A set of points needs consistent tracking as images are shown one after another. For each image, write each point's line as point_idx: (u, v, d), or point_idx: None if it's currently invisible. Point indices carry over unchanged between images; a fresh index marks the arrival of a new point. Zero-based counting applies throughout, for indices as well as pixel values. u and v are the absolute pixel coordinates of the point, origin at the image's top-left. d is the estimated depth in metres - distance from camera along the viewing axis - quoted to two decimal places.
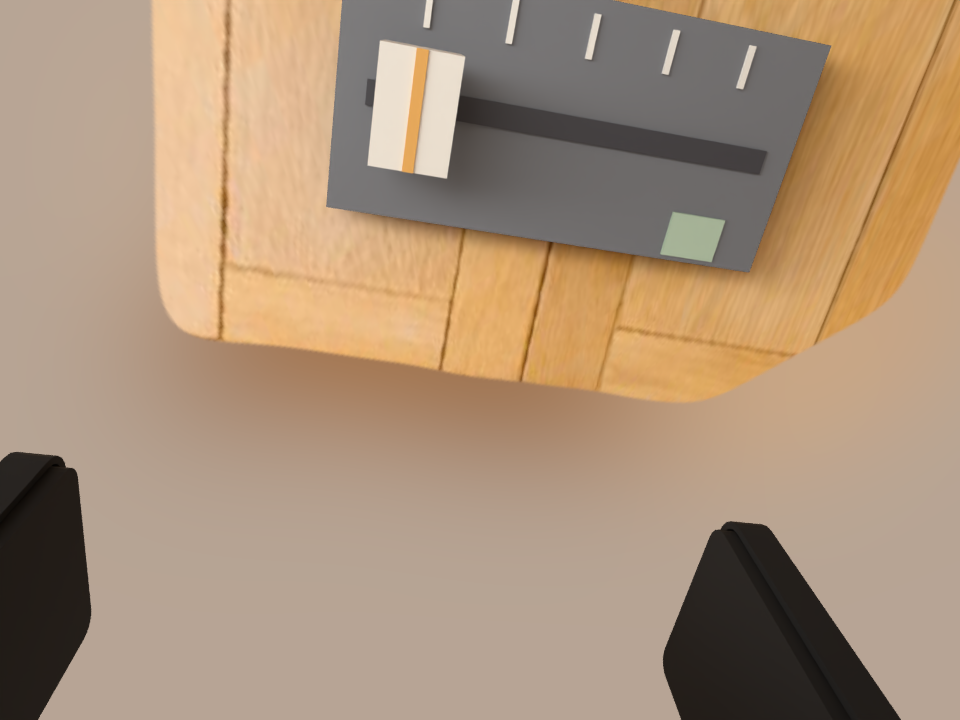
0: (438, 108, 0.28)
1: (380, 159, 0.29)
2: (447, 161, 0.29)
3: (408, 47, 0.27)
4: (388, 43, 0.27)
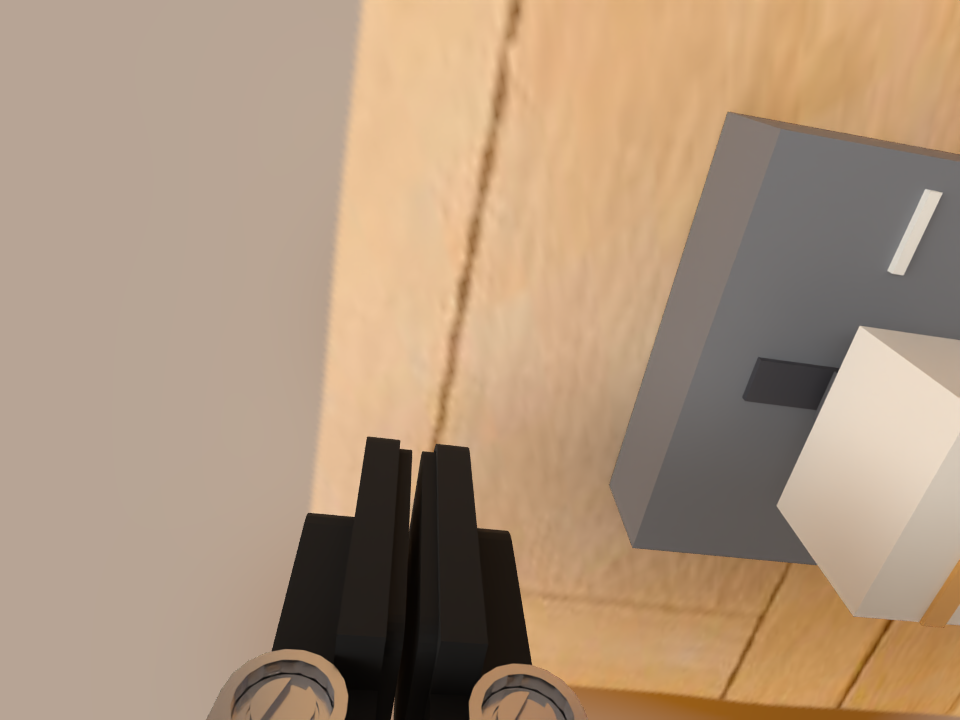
0: None
1: (884, 606, 0.14)
2: None
3: None
4: None
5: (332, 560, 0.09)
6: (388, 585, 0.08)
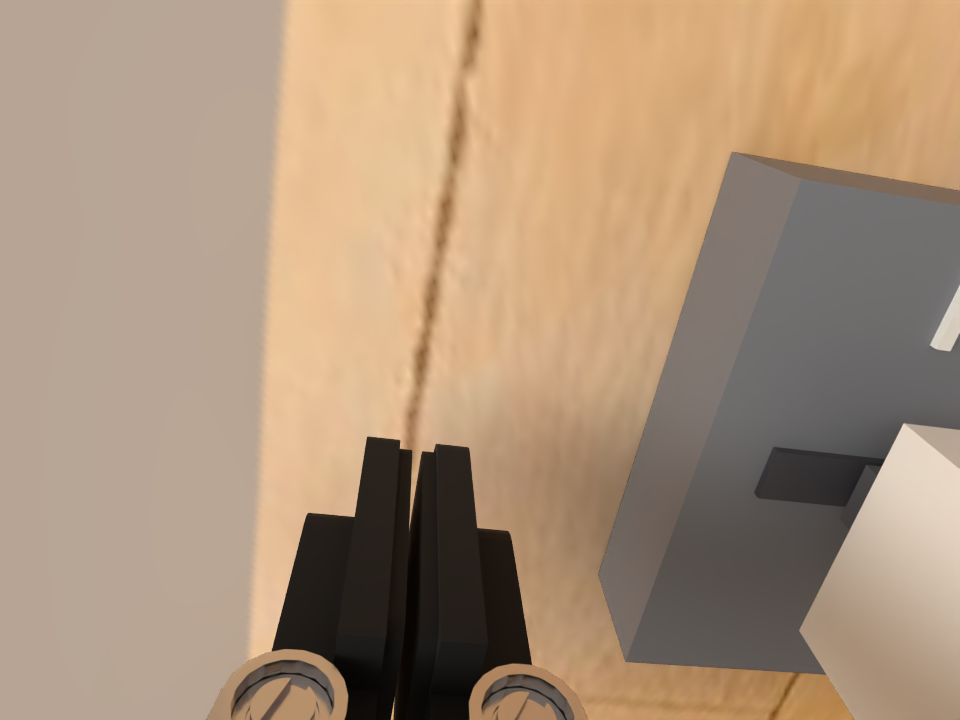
0: None
1: None
2: None
3: None
4: None
5: (332, 560, 0.09)
6: (388, 585, 0.08)
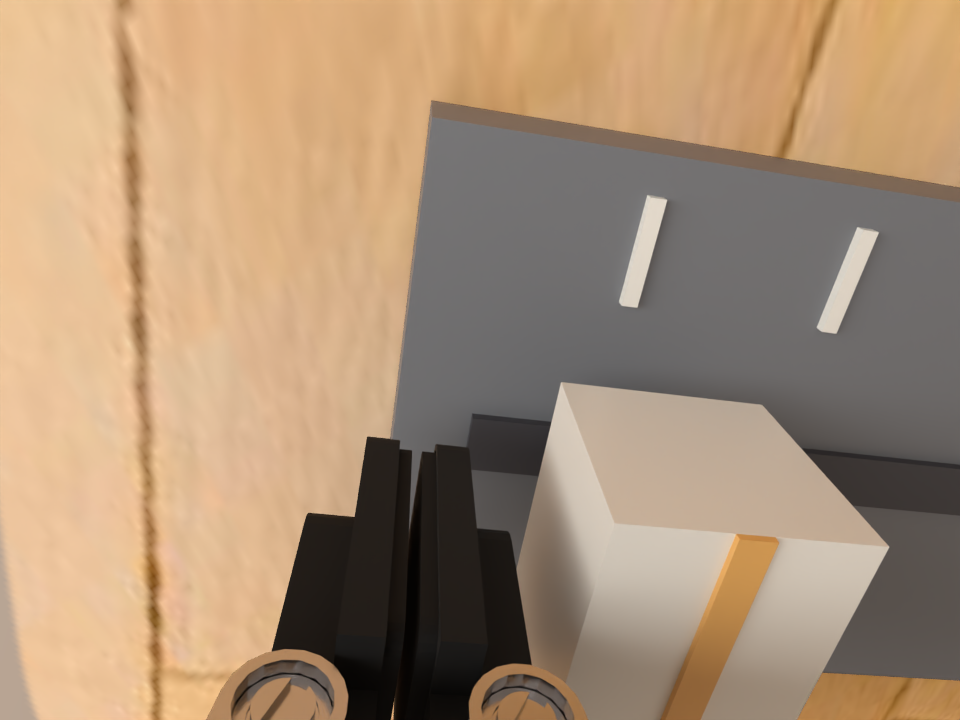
0: (770, 667, 0.09)
1: None
2: None
3: (707, 535, 0.08)
4: (641, 528, 0.08)
5: (333, 560, 0.09)
6: (388, 585, 0.08)
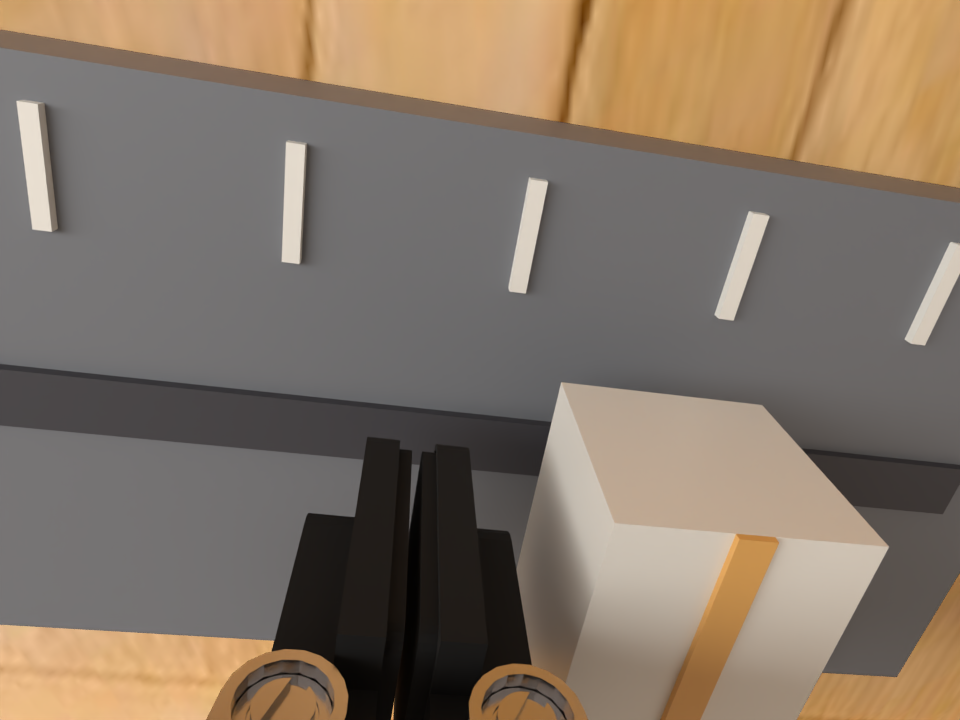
0: (771, 667, 0.09)
1: None
2: None
3: (707, 535, 0.08)
4: (641, 528, 0.08)
5: (332, 559, 0.09)
6: (388, 585, 0.08)
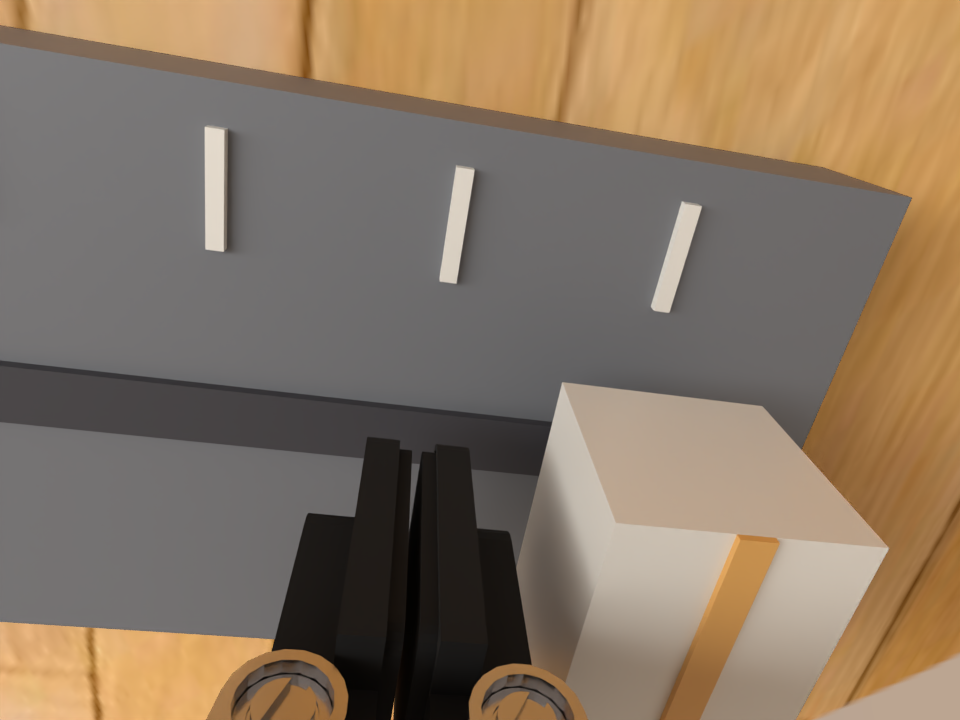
0: (769, 667, 0.09)
1: None
2: None
3: (708, 535, 0.08)
4: (643, 528, 0.08)
5: (332, 560, 0.09)
6: (388, 585, 0.08)
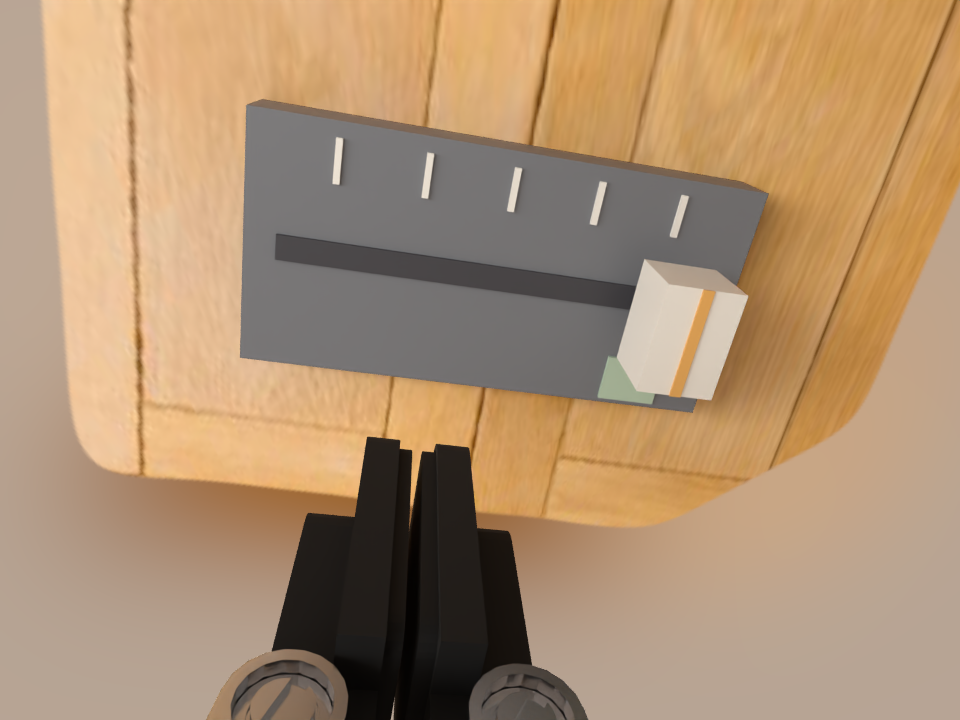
0: (715, 340, 0.29)
1: (650, 385, 0.30)
2: (714, 385, 0.30)
3: (695, 289, 0.28)
4: (676, 286, 0.28)
5: (332, 561, 0.09)
6: (388, 585, 0.08)
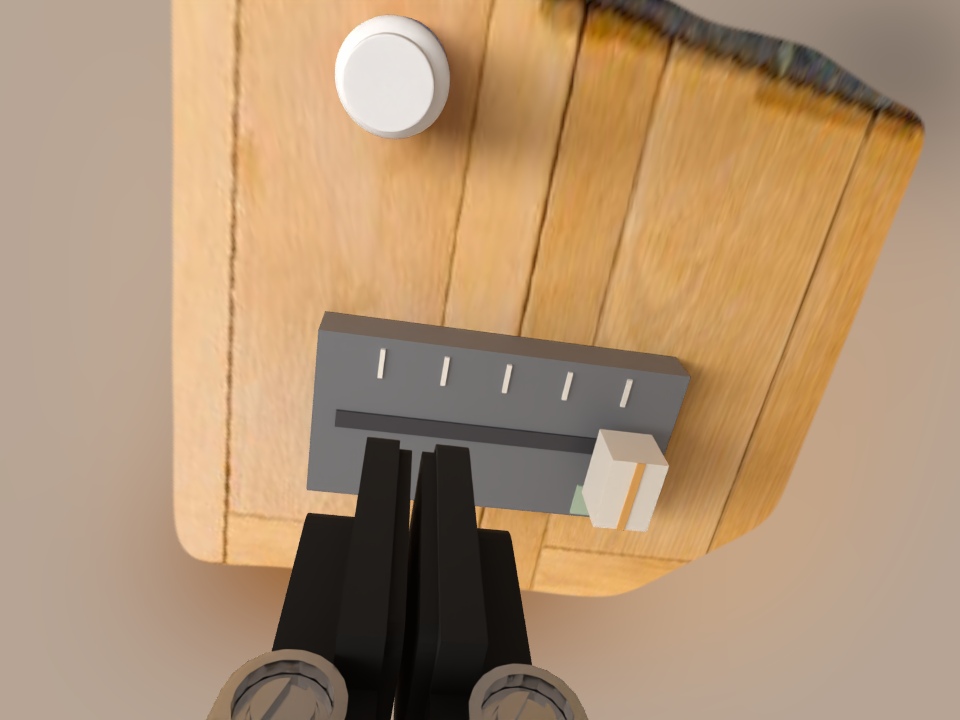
0: (647, 494, 0.41)
1: (602, 523, 0.42)
2: (648, 522, 0.42)
3: (631, 463, 0.40)
4: (618, 461, 0.40)
5: (332, 560, 0.09)
6: (388, 585, 0.08)
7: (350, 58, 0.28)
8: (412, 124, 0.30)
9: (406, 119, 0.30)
